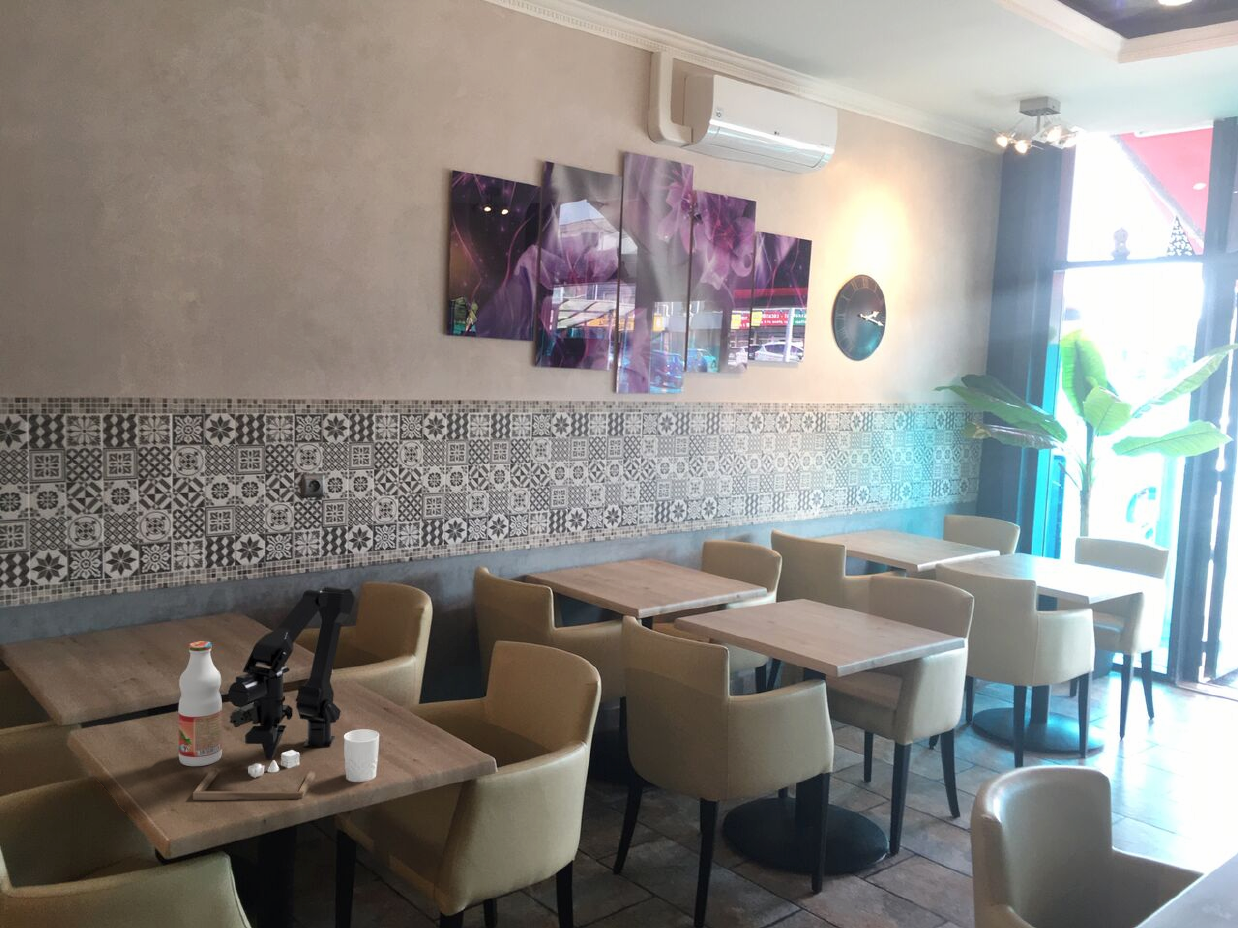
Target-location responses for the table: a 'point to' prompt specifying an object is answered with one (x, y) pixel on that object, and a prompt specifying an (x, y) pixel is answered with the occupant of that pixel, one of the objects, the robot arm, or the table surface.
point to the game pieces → (287, 761)
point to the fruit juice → (200, 709)
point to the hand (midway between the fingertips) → (269, 759)
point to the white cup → (361, 754)
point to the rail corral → (234, 795)
